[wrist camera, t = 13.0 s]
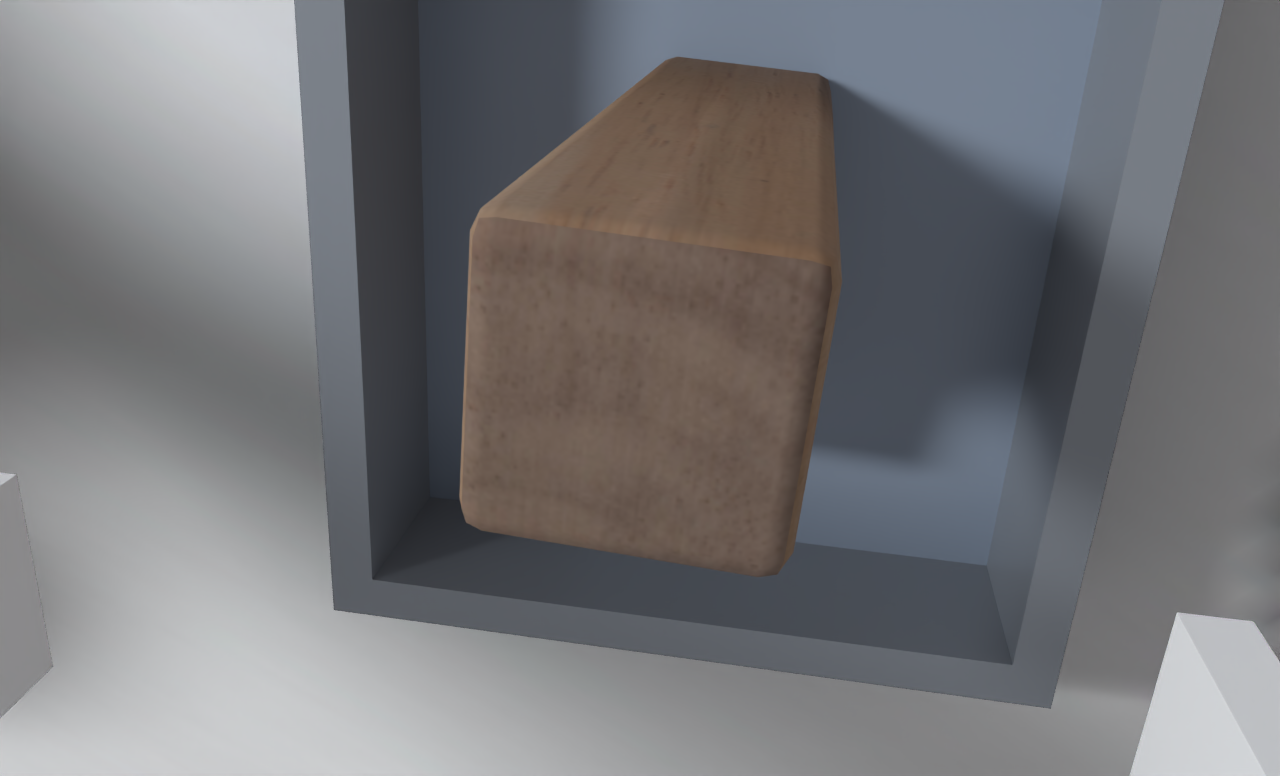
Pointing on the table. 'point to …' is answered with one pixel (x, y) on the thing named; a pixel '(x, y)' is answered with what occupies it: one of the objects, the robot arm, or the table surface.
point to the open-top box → (863, 331)
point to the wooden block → (658, 323)
